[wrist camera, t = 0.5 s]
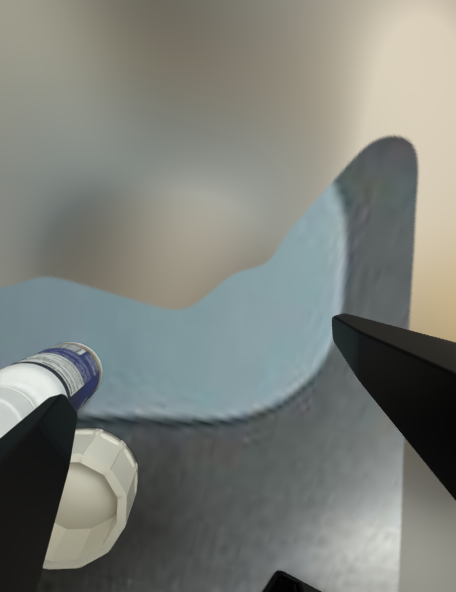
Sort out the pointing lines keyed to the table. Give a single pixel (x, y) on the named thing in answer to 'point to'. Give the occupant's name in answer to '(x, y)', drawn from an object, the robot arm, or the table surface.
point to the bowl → (92, 499)
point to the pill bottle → (47, 381)
